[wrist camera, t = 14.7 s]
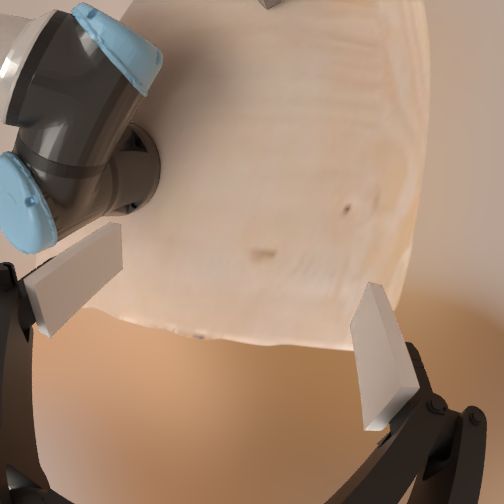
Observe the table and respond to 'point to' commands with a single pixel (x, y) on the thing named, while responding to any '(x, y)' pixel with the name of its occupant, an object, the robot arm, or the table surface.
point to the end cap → (269, 3)
